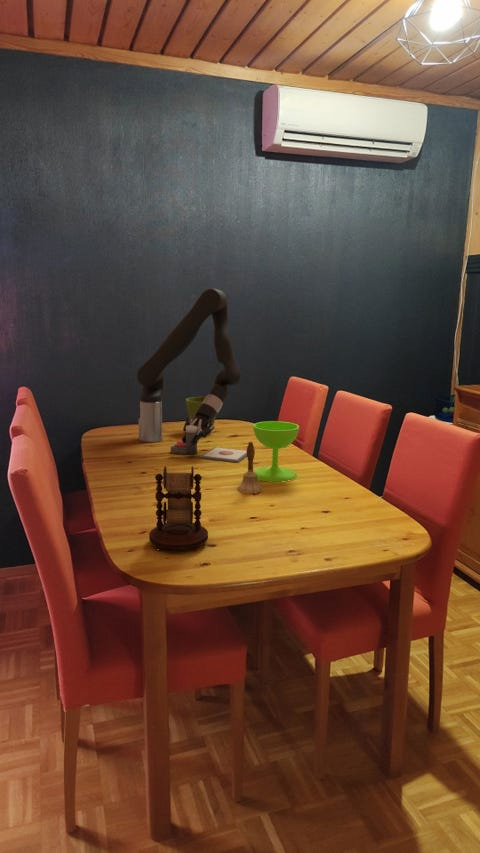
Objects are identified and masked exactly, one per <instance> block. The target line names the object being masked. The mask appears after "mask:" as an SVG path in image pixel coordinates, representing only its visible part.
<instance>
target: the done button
mask: <svg viewBox="0 0 480 853" xmlns="http://www.w3.org/2000/svg"><path fill="white" fill-rule="evenodd" d="M176 444H177V447H181V448H186V443H183V442H182V439H181V440H177V441H176Z"/></svg>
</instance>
